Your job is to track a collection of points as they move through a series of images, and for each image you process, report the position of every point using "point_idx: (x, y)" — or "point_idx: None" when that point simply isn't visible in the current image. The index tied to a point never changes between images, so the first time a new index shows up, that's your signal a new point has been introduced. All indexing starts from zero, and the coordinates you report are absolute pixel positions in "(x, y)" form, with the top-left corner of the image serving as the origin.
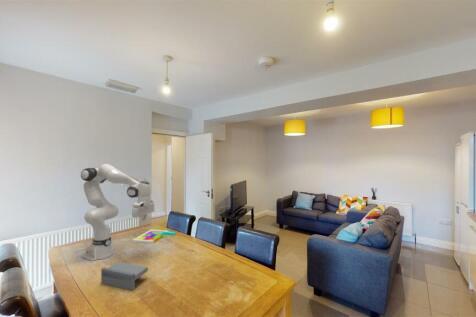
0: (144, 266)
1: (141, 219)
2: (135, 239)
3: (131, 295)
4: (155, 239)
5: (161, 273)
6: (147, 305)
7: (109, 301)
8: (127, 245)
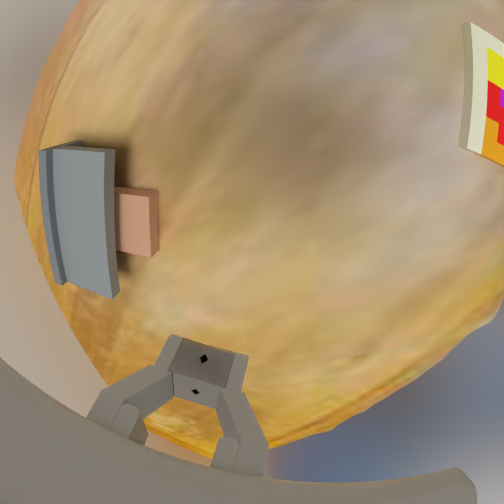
0: (110, 287)
1: (163, 347)
2: (480, 40)
3: None
4: (491, 159)
5: (171, 306)
6: (72, 311)
7: None
8: (428, 12)
